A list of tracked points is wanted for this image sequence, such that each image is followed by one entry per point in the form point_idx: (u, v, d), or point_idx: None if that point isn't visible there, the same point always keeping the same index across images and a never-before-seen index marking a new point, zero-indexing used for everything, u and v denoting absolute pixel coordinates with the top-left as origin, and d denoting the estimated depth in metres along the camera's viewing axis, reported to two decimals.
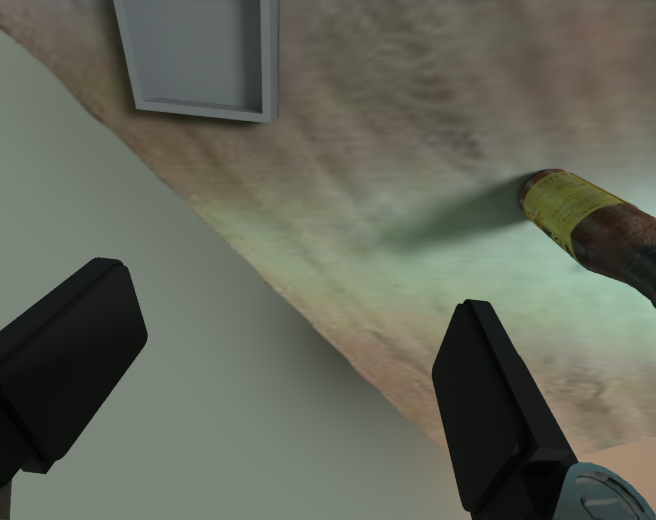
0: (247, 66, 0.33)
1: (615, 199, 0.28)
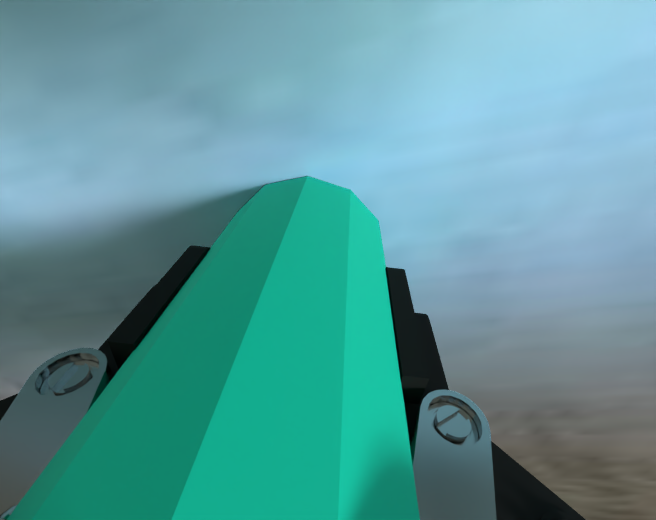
0: None
1: None
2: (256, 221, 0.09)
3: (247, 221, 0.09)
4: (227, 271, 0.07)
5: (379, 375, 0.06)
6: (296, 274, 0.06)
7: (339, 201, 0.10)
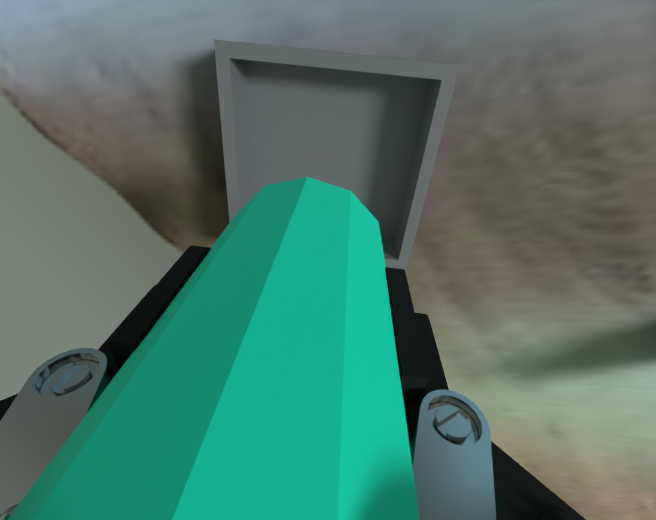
0: (374, 195, 0.25)
1: None
2: (256, 222, 0.09)
3: (247, 222, 0.09)
4: (226, 273, 0.07)
5: (379, 377, 0.06)
6: (295, 276, 0.06)
7: (339, 202, 0.10)
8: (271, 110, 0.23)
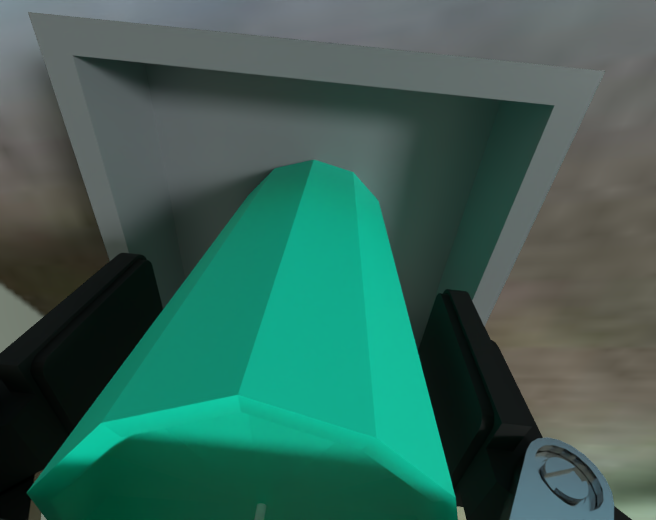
0: None
1: None
2: (273, 193, 0.10)
3: (264, 193, 0.10)
4: (254, 226, 0.08)
5: (390, 303, 0.07)
6: (316, 226, 0.07)
7: (344, 179, 0.11)
8: (203, 151, 0.12)
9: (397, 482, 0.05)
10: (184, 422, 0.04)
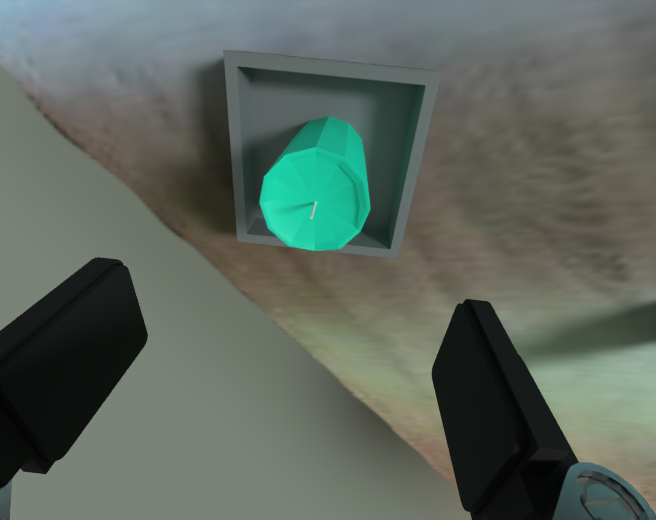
0: None
1: None
2: (311, 126, 0.22)
3: (307, 127, 0.22)
4: (308, 133, 0.20)
5: (356, 154, 0.19)
6: (331, 132, 0.20)
7: (343, 124, 0.24)
8: (273, 112, 0.25)
9: (353, 187, 0.17)
10: (302, 156, 0.16)
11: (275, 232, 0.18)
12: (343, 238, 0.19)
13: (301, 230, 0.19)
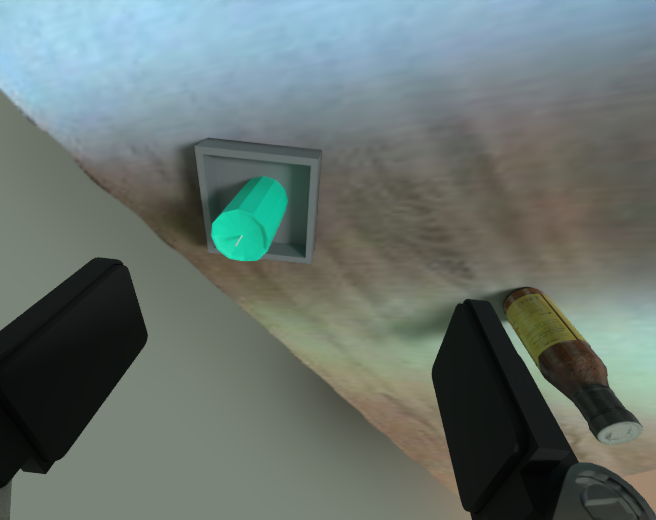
0: (293, 219, 0.43)
1: (570, 335, 0.38)
2: (248, 186, 0.37)
3: (246, 186, 0.37)
4: (242, 193, 0.35)
5: (267, 207, 0.34)
6: (255, 193, 0.35)
7: (270, 182, 0.39)
8: (229, 173, 0.40)
9: (260, 228, 0.32)
10: (231, 213, 0.31)
11: (221, 251, 0.34)
12: (258, 254, 0.34)
13: (236, 250, 0.34)
